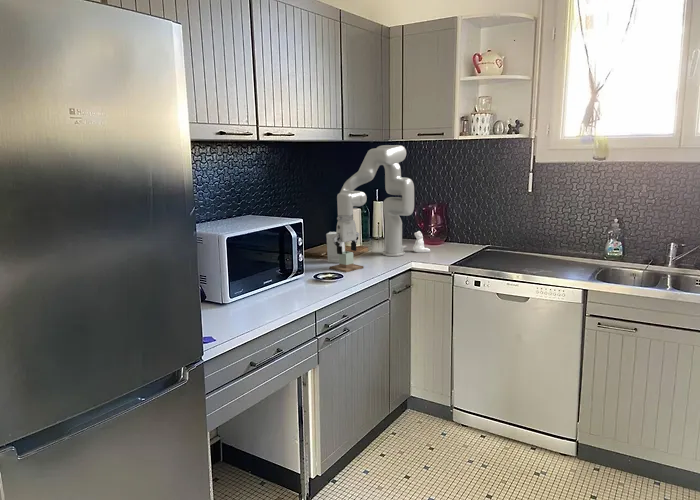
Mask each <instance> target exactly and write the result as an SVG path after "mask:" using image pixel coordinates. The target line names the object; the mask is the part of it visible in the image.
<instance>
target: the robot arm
mask: <svg viewBox="0 0 700 500" xmlns="http://www.w3.org/2000/svg"><path fill="white" fill-rule="evenodd" d="M406 156H407V149H406V148H405V146H403V145H401V144H400V145H399V144H396V145H395V144H394V145H391V144H390V145H389V144H385V145H379V146H377V147H376V148H371V149H369V150H367V153H366V154H365V156H364V159H363V161H362V163H361V164H360V167H359V169H358V171H357V172H355V173H354V174H352V175H351V176H350V177H349V178H348V179H346V181H345V182H344V183H343V186H342V187H341V189H340V191H339V193H337V196H336V201H337V203H336V204H337V217H336V220H337V223H336V231H335V232H336V236H335V237H333V242H334V244H335V245H336V246H337V254H342V246H341V245H342V243H343V242H345V243H348V242H349V243H350V250H351V251H354V252H355V251H357V243H358V240H359V236H360V232H358V231H357V225H356V221H355V219H354V207H361V206H364V205H365V204H366V203H367V198H368V197H367V194H366V193H365V192H364V191H362V190H361V191H360V190H356V189H357V188H358V187H360V186H362V185H364V184H367V183H369V182H371V181H372V180H374V178H375V176H376V174H377V171H378V169H379V168H380V166H383V168H384V174H385V175H384V185H385V186H384V187H385V188H384V189H385V191H386V193H387V194H388V195H392V196H390V197H386V198H385V199H384V200H383V203H382V211H383V217H384V250H383V251H382V252H381V254H382V255H383V256H387V257H399V256H404V255H405V254H406V252H405V251H404V250H405V249H406V250H407V249H408V245H403V221H402V218H401V217H400V216H403V217H404V216H406V217H408V216H409V217H410V216H411V215H412V214H414V213H413V212H414V210H415V184H414V181H413V180H412V178H409V177H402V169H401V165H400V163H401V162H403V161H404V160H405V159H406ZM394 196H395V197H394ZM398 196H401V197H398ZM339 242H340V243H339Z"/></svg>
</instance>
